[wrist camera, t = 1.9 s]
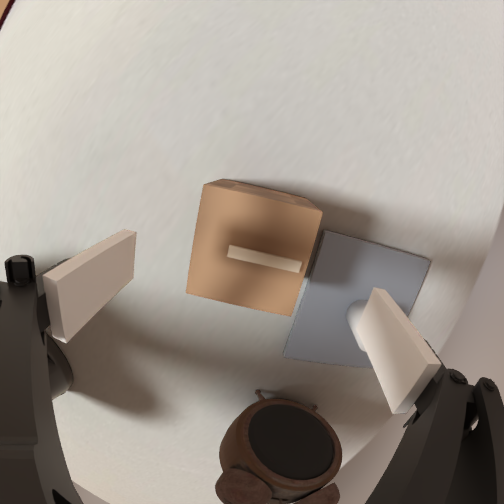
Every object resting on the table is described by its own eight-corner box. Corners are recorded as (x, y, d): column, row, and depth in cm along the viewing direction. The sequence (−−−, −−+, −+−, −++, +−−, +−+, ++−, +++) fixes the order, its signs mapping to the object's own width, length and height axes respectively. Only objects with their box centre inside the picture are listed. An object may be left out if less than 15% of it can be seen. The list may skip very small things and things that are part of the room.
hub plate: (283, 352, 31) (285, 387, 25) (323, 229, 26) (339, 247, 20) (377, 364, 31) (391, 395, 25) (426, 258, 26) (454, 278, 21)
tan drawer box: (206, 257, 27) (184, 294, 20) (222, 178, 25) (202, 184, 17) (284, 275, 28) (291, 318, 20) (305, 198, 25) (323, 212, 17)
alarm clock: (338, 399, 33) (365, 523, 14) (312, 426, 35) (324, 538, 16) (241, 373, 32) (223, 521, 13) (223, 404, 34) (201, 530, 15)
